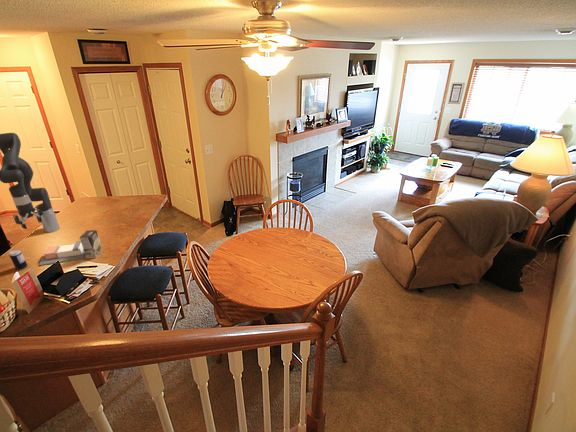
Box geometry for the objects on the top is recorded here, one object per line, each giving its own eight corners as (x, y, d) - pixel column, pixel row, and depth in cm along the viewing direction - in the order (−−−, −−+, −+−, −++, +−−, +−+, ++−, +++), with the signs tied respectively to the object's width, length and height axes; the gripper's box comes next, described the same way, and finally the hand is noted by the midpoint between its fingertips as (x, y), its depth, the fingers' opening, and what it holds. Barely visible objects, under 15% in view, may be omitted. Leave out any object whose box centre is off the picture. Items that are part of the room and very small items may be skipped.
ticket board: (48, 250, 202) (45, 242, 200) (89, 244, 210) (86, 237, 207) (39, 266, 188) (35, 258, 185) (83, 259, 195) (80, 251, 192)
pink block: (50, 252, 199) (48, 247, 197) (60, 250, 201) (58, 245, 199) (46, 259, 192) (43, 253, 190) (57, 257, 194) (55, 252, 192)
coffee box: (96, 258, 196) (89, 237, 189) (86, 258, 196) (79, 237, 188) (103, 250, 204) (96, 229, 197) (93, 250, 204) (86, 230, 196)
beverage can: (25, 263, 189) (18, 248, 183) (29, 267, 186) (22, 251, 181) (14, 268, 185) (6, 252, 179) (18, 271, 182) (10, 255, 177)
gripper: (31, 196, 186) (40, 219, 194) (5, 205, 174) (16, 229, 182) (39, 198, 183) (48, 221, 191) (13, 208, 172) (24, 232, 180)
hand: (33, 225), depth 187 cm, fingers open, 8 cm apart
